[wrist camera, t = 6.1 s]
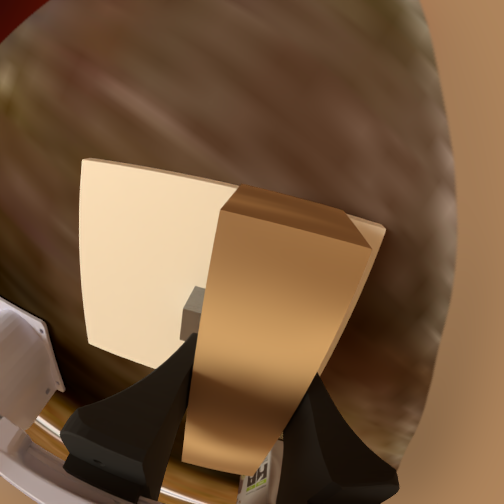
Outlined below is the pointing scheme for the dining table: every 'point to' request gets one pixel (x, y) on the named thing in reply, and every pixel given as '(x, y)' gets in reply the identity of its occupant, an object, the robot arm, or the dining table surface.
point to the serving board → (155, 254)
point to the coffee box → (263, 480)
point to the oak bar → (266, 321)
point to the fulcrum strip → (192, 313)
